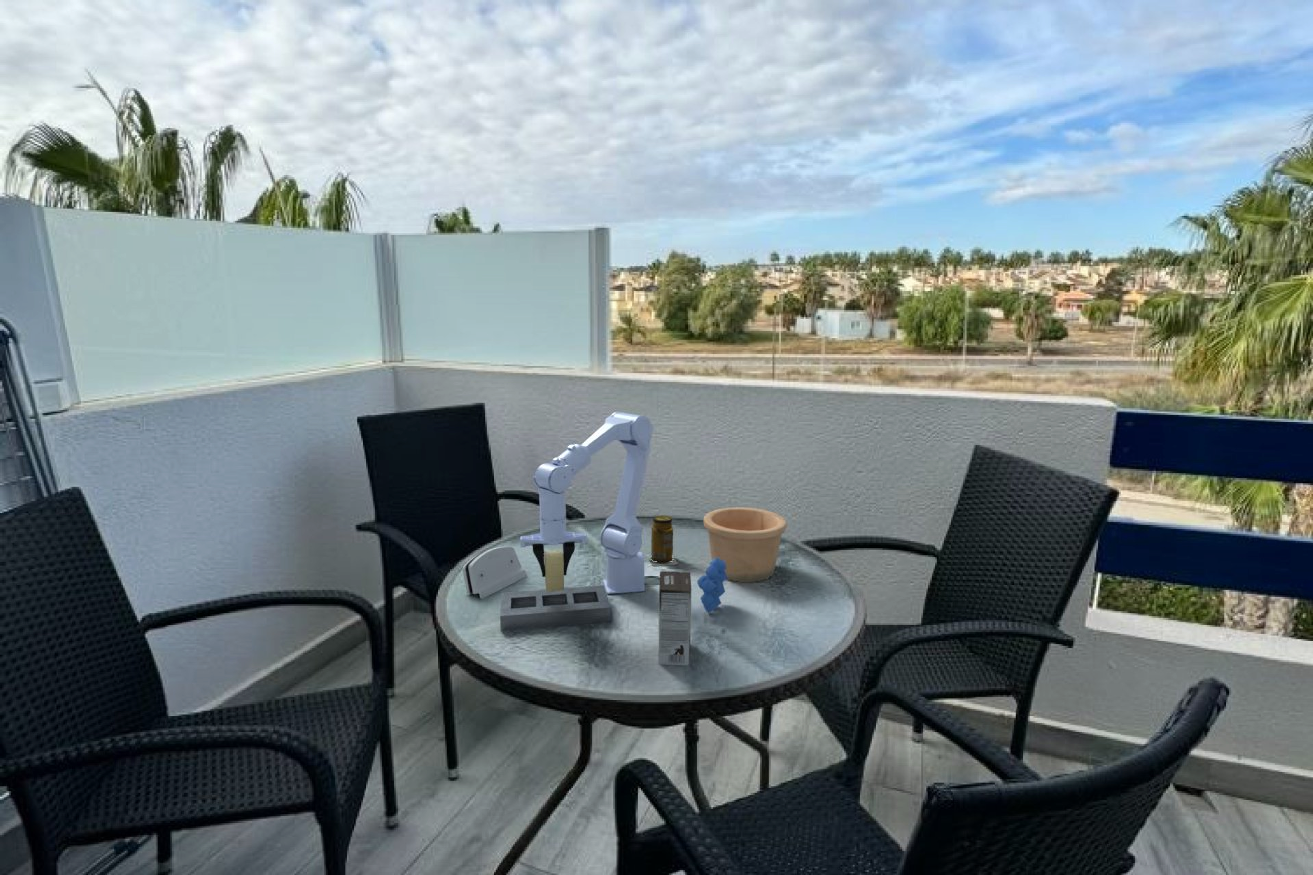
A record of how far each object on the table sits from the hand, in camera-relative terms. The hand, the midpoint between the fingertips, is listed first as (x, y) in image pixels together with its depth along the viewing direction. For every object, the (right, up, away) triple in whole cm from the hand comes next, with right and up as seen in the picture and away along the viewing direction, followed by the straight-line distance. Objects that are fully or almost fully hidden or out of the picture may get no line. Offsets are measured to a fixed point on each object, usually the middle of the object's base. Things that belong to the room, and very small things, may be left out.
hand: (554, 574), depth 148 cm
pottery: (+47, -5, +28) cm, 55 cm away
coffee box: (+27, -13, -15) cm, 33 cm away
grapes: (+36, -9, +6) cm, 37 cm away
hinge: (-18, -6, +18) cm, 26 cm away
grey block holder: (0, -9, +2) cm, 10 cm away
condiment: (+25, -3, +35) cm, 43 cm away
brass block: (0, -3, 0) cm, 3 cm away
